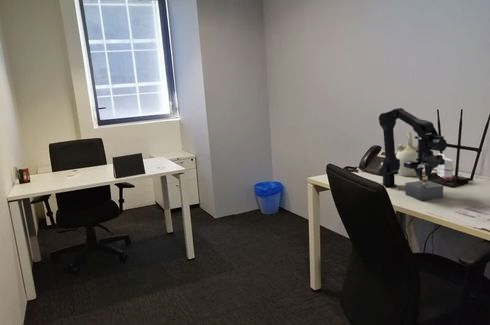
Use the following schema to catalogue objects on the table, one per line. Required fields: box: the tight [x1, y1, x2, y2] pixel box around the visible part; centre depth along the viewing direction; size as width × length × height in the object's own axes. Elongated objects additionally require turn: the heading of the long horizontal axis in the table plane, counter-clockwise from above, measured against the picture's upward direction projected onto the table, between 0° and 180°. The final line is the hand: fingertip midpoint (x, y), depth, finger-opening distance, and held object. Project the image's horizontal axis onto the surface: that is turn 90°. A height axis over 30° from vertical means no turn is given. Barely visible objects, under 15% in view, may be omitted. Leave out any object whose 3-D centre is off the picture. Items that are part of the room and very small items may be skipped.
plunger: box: [421, 174, 429, 185], centre depth 190 cm, size 9×9×8 cm
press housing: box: [404, 180, 444, 202], centre depth 190 cm, size 12×12×6 cm
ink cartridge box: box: [436, 152, 454, 179], centre depth 214 cm, size 9×5×15 cm, turn 178°
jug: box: [395, 132, 424, 177], centre depth 231 cm, size 15×16×25 cm
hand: (423, 180), depth 189 cm, fingers closed on plunger, 3 cm apart
